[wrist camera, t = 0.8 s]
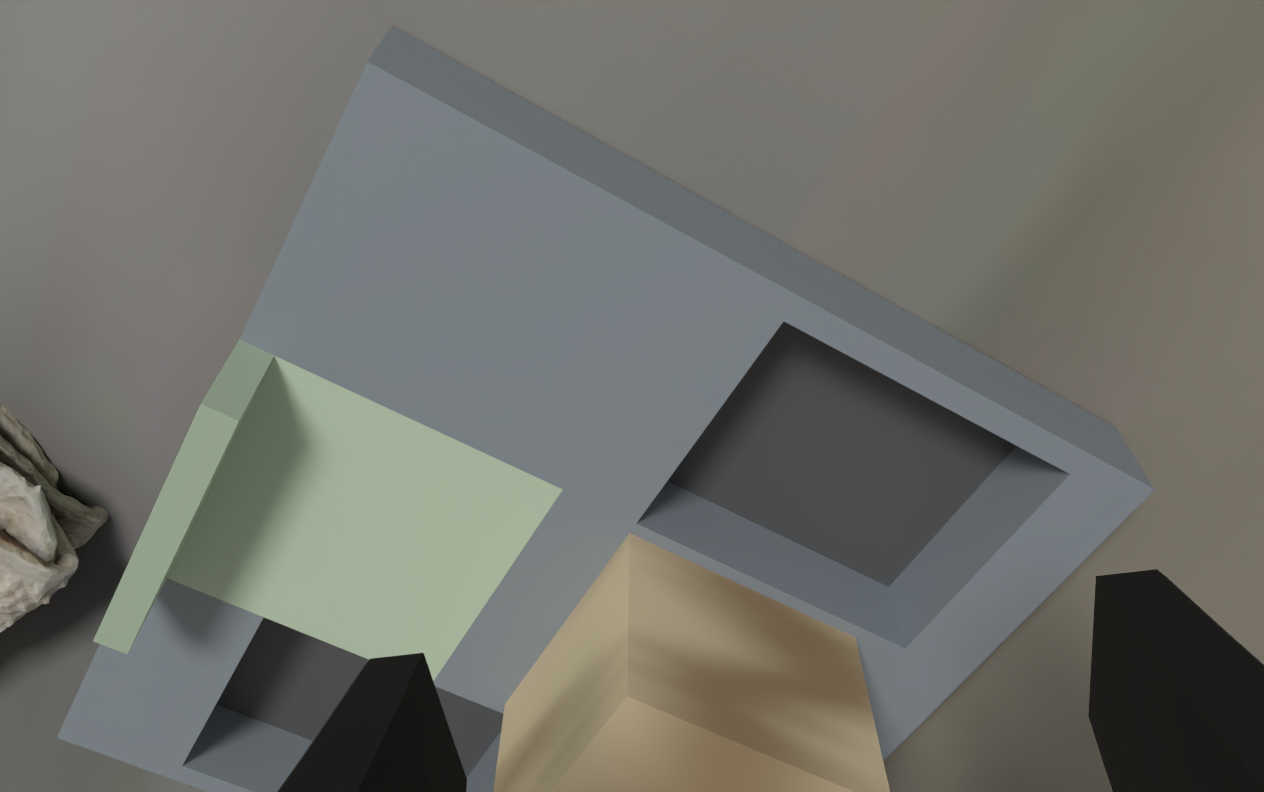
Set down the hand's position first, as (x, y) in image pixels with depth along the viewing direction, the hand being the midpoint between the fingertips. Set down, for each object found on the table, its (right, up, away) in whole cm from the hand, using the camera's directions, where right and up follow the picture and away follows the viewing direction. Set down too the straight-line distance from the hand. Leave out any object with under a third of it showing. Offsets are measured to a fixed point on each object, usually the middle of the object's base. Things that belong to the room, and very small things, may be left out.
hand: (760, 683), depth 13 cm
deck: (-3, 0, +11) cm, 12 cm away
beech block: (-1, -2, +10) cm, 11 cm away
